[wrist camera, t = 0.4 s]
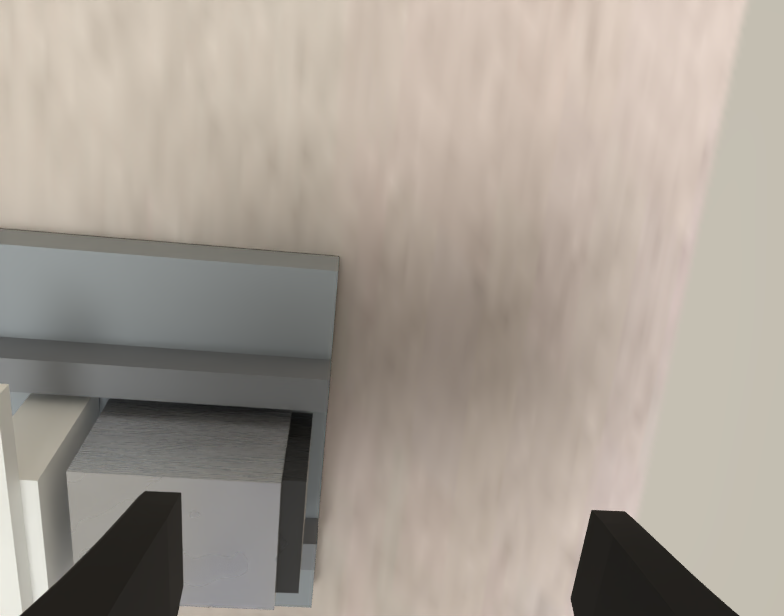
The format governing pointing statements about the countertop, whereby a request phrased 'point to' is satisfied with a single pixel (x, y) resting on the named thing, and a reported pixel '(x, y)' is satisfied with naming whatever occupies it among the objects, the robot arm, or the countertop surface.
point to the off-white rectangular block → (37, 492)
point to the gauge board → (172, 332)
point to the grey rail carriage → (203, 491)
